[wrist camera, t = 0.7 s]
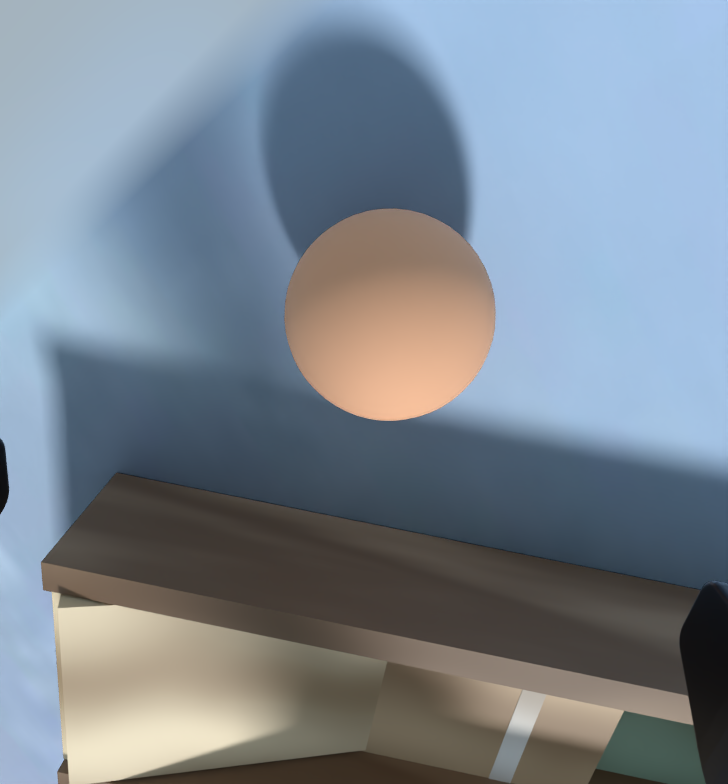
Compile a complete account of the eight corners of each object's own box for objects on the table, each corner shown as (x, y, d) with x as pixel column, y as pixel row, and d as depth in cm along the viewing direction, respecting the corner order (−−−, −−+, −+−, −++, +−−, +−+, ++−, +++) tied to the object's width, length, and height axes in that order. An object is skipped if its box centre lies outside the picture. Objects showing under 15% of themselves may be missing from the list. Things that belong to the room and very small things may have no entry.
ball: (466, 385, 19) (471, 480, 15) (296, 352, 19) (251, 436, 15) (510, 211, 17) (532, 259, 12) (318, 176, 17) (273, 211, 12)
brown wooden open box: (772, 819, 25) (840, 975, 21) (118, 680, 26) (51, 802, 22) (907, 631, 21) (1030, 779, 16) (116, 472, 22) (32, 572, 17)
